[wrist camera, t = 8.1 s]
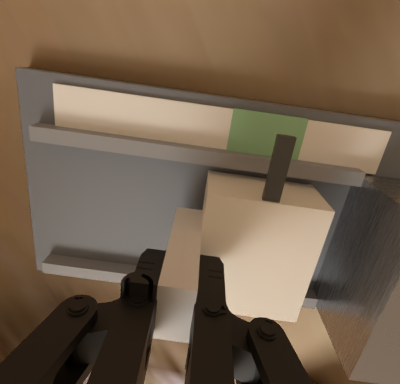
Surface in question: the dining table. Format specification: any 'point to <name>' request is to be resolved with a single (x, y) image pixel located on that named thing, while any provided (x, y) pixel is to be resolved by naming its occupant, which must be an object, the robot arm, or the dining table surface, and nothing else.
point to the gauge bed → (167, 162)
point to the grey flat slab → (365, 282)
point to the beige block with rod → (265, 236)
